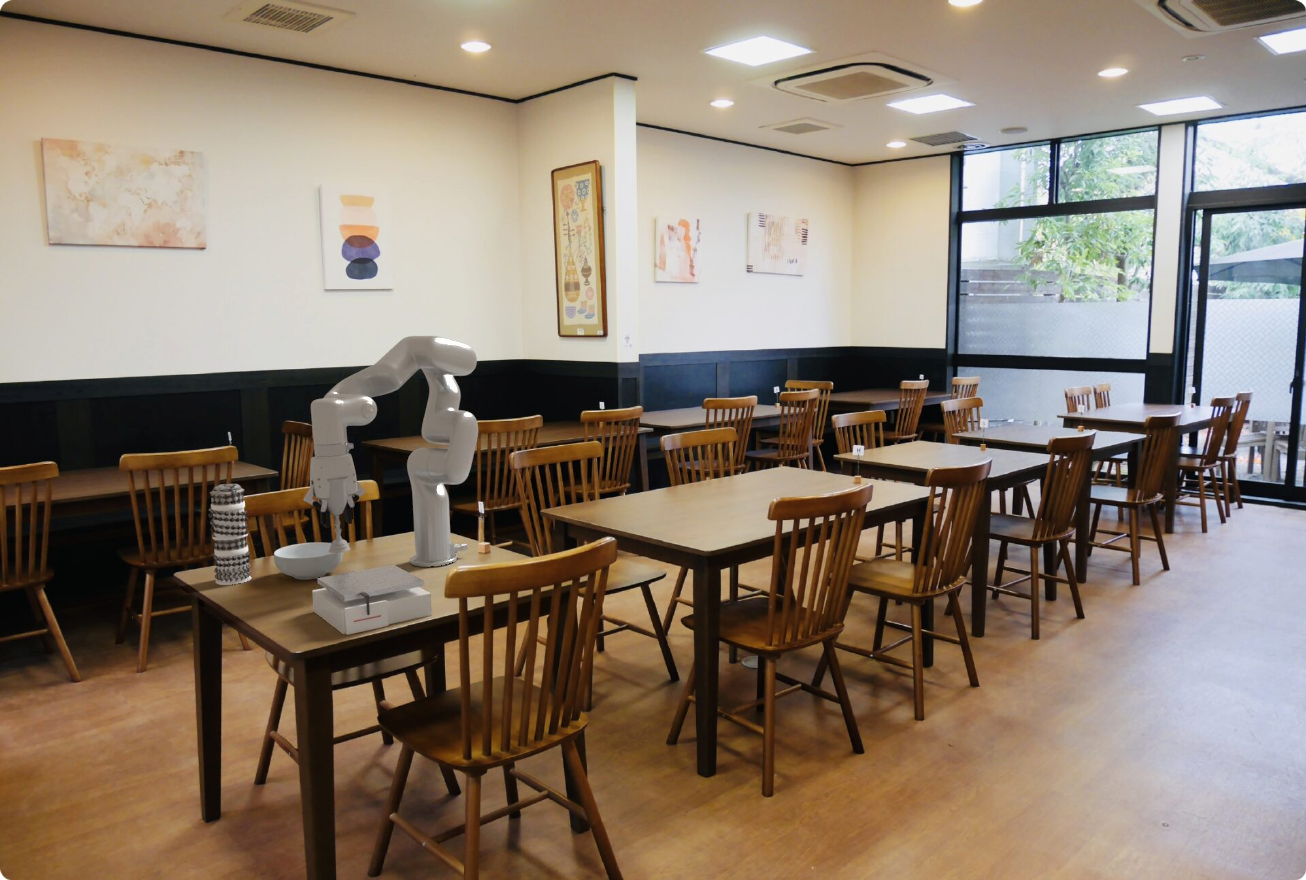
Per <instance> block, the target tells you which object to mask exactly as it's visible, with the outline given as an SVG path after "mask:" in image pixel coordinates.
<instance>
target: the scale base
mask: <svg viewBox="0 0 1306 880" xmlns="http://www.w3.org/2000/svg"><path fill="white" fill-rule="evenodd" d="M311 592H312V593H311V594H312V608H313V612H314V613H315V614H316V615H318V616H319V617H322V620H324V621H325V620H326V621H325V622H327V623H328V624H329V625H330V626H332V627H333V628H335V629H336V630H337V631H338V632H339V633H341V634H342V635H352V634H356V633H361V632H367V631H372V630H376V629H380V628H385V627H389V625H392V624H397V623H401V622H407V621H411V620H415V619H420V618H424V617H429V616H432V615H433V612H432V610H433V609H432V593H431V592H429V591H427V590H425V589H424V588H423V587H416V588H411V589H406V590H401V591H396V592H391V593H386V594H380V595H375V596H370V597H369V609H370V615H367V606H366V598H360V599H355V600H350V601H343V600H342V599H340V598H339V597H337V596H336V595H334V594H333V593H331V592H330V591H328V590H327V589H325V588H324V587H322V588H318V589H313V590H312V591H311Z"/></svg>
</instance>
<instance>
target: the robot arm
mask: <svg viewBox="0 0 1306 880" xmlns="http://www.w3.org/2000/svg"><path fill="white" fill-rule="evenodd" d="M477 361H478V358H477V354H476V351H475V349H473V347H471V346H470V345H468V344H467V343H463V342H459V341H456V340H452V339H448V338H445V337H442V336H437V335H411V336H406V337H403V338H402V339H400V341H398V342H397V343H396V344H395V345H394V346H393V347H391V349H389V351H388V352H386V353H385V354H384V355H383V356H382V357H381V358H380V359H379V360H378V361H376V362H375V363H374V364H373V365H370V366H368V367H366V368H363V369H361V370H360V371H358V372H355V373H354V374H352V375H349V376H348V377H346V378H344V379H342V380H341V381H340V382H338V383H336V385H334V386H333V387H332V388H331V389H330V390H329V391H328V392H327V393H326V394H325V395H324V396H323V398H318V399H315V400H313V401H312V402H311V404H310V414H311V424H312V425H311V426H312V435H313V436H312V437H313V449H314V456H312V457H311V459H310V467H309V468H310V470H309V489H308V491H306V494H305V496H304V497H303V501H304V502H306V503H308V504H309V505H311V506H313V507H314V508H315V509H317V510H318V511H319V518H320V525H322V526H323V527H324V528H326V529H329V528H330V527H331V525H330V524H331V523H330V512H329V511H328V509H327V499H328V498H329V494H330V483H329V482H328V481H327V480H336V479H343V478H347V477H348V479H347V480H346V487H347V493H348V500H347V504H346V506H345V509H344V511H343V514H344V522H345V523H347V524H349V525H353V520H354V507H355V504H356V503H357V502H358V501H359V499H360V498H361V497H363V495H364V494H365V493H366V489H365V488H364V487H363V486H362V485H361V484H360V482H358V481H357V474H356V473H357V472H356V469H355V465H354V460H353V457H352V454H351V453H350V450H351V449H354V443H353V442H351V443H350V442H349V441H348V435H347V427H349V426H351V427H352V426H354V427H355V426H358V427H359V426H366V425H369V424H370V423H371V422H373V420H374V419H375V418H376V416H377V412H378V407H377V403H376V402H375V400H374V399H373V398H374V397H378V396H383V395H386V394H387V395H388V394H390V393H393V392H395V391H398V390H399V389H400V388H401V387H403V385H405V383H406V382H407V381H408V380H410V378H411V377H412V376H414V374H415V373H416V372H418V371H419V370H420V369H421V370H422V373H423V374H424V376H425V378H426V381H427V384H428V387H429V389H428V390H429V392H428V393H429V394H428V399H427V403H426V408H425V412H424V417H423V419H422V420H423V421H422V425H421V436H422V439H424V440H425V441H426V442H428V443H430V444H435V445H445V446H446V445H448V448H444V447H429V446H427V447H418V448H417V449H415V450H413V451H412V452H411V453H410V455H409V456H408V459H407V462H406V467H407V473H408V477H409V480H410V485H411V492H412V506H413V507H412V511H413V512H412V513H413V531H414V533H413V534H414V549H415V555H413V556H411V557H410V558H409V562H410V564H411V565H412V566H415V567H421V568H422V567H423V568H424V567H425V568H427V567H429V568H430V567H431V566H434V567H441V565H442V566H446V565H445V564H447V565H450V564H449V563H451V564H453V563H455V562H456V561H457V560H458V555H457V554H458V552H464V551H468V548H469V547H468V544H467V543H461V544H459V543H452V541H451V524H450V501H449V500H450V499H449V498H450V497H449V494H448V491H447V488H446V487H445V485H460V484H462V483H464V482H465V481H466V480H467V479H468V477H469V475H470V474H469V473H470V470H471V468H472V463H473V460H474V455H475V450H476V446H477V442H478V437H479V425H478V421H477V418H476V417H475V415H474V414H473V413H471V412H469V411H468V410H467V411H466V410H461V409H459V408H460V403H461V389H460V386H459V385H458V382H457V381H456V379H455V376H459V377H462V376H465V377H466V376H468V375H470V374H472V372H473V371H474V370H475V369H476V367H477V363H478V362H477ZM313 497H314V498H316V499H317V500H318V501H317V500H315V499H313ZM452 562H453V563H452Z"/></svg>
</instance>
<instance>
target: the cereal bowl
mask: <svg viewBox="0 0 1306 880" xmlns="http://www.w3.org/2000/svg"><path fill="white" fill-rule="evenodd" d="M331 543H332V542H303V543H298V544H297V543H296V544H291V545H287V546H283V547H280V548H278V549H276V550H275V551H274V552H273V559H274V564H275V567H276V568H277V569H278V571H280V572H281V573H282V574H284V575H287V576H290V577H293V578H294V579H296V580H304V581H305V580H313V579H317V578H318V577H320V578H321V577H325V576H326V575H327V574H328V573H331V572H333V571H335V570H336V569H337V568H338V567H339V566H340V565H341V562H342V561H343V553H344V552H341V553H330V552H329V549H330V546H331Z"/></svg>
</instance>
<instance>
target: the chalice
mask: <svg viewBox="0 0 1306 880" xmlns="http://www.w3.org/2000/svg"><path fill="white" fill-rule="evenodd" d="M347 479H348V477H347V478H343V479H336V480H327V481H328V482H329V483H330V494H329V498H328V499H327V507H326V509H327V511H328V512H329V515H331V516H334V522H333V524H334V526H335V529H334V530H333V532H335V534H336V536H335V539H334V540H333V541H331V542H330V543H331V546H330V549H329V552H330V553H341V552H343V553H346V552H349V551H351V548H350V545H349V544H348V542H347V540H345V539H343V538H342V536H341V534H342V533H341V532H342V528H341V527H340V526H341V523H342V522H341V521H340V515H342V514H344V509H345V506H346V504H347V500H348V493H347V487H346V480H347Z"/></svg>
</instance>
